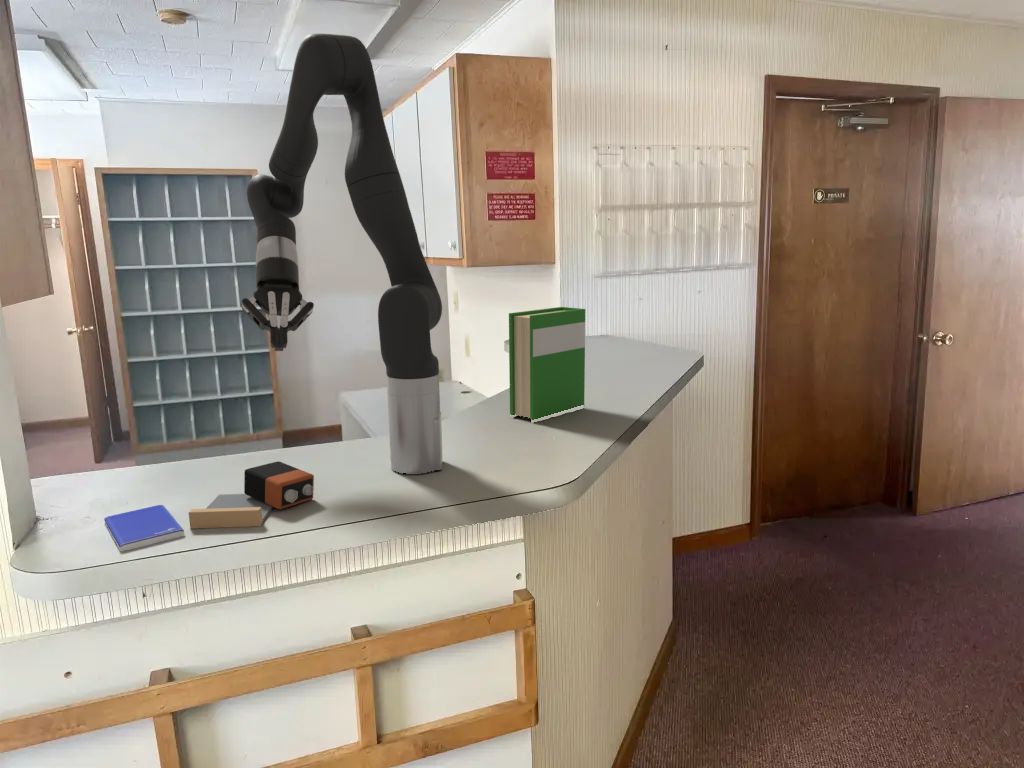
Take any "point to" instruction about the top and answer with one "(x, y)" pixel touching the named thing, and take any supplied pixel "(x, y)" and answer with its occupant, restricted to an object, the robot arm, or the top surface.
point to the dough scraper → (230, 512)
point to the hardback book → (546, 361)
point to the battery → (278, 484)
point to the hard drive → (143, 527)
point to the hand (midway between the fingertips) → (279, 348)
